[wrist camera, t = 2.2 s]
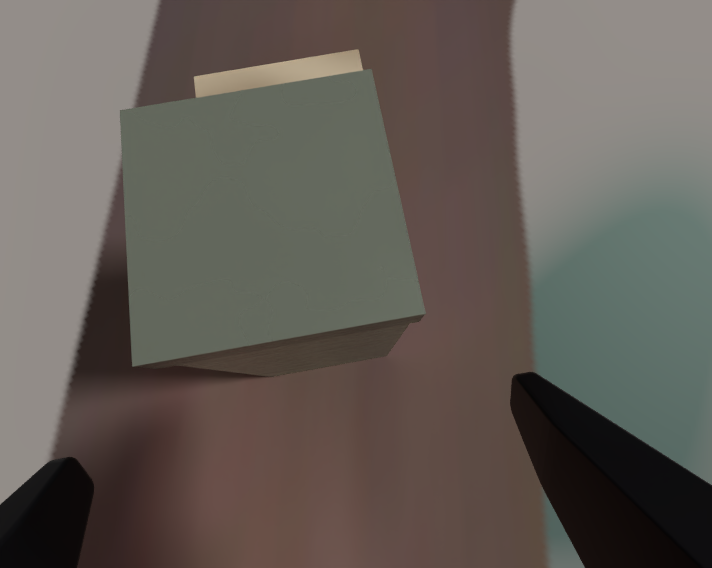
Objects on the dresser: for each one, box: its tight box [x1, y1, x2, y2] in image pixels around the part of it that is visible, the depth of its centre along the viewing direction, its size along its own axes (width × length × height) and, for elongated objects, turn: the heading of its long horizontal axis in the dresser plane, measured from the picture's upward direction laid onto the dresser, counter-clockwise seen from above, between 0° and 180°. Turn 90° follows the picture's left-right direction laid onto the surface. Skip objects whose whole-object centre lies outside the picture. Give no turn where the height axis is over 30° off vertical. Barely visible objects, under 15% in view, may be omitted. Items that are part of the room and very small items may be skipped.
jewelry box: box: [194, 49, 363, 98], centre depth 21 cm, size 8×8×3 cm
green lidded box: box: [120, 69, 426, 377], centre depth 15 cm, size 6×6×12 cm
